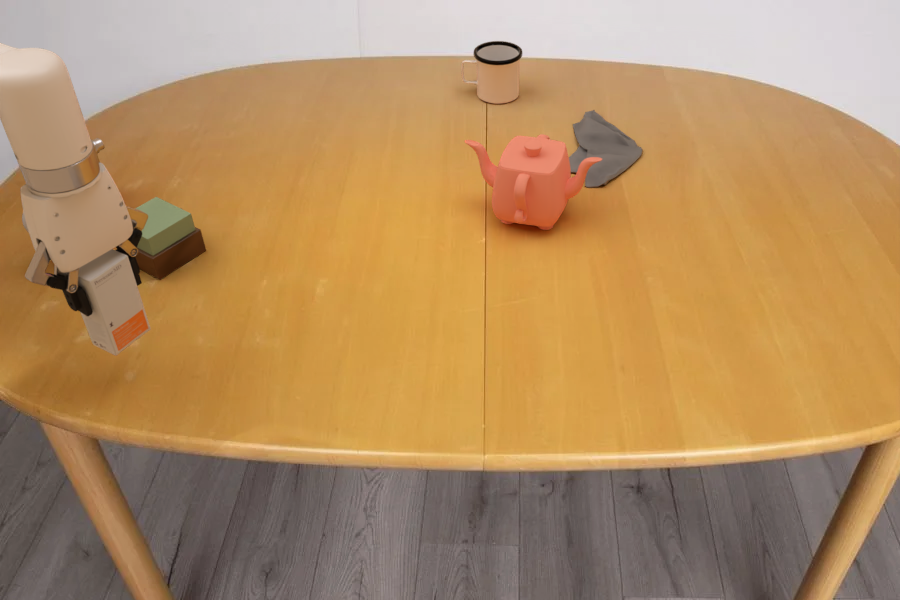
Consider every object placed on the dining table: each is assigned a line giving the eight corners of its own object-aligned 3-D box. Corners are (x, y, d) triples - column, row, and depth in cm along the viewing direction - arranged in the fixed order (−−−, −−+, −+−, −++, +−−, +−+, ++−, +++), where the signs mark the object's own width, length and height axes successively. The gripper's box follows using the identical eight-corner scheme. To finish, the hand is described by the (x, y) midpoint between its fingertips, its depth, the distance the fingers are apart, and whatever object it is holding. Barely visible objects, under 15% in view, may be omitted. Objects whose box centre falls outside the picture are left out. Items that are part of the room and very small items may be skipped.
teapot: (597, 223, 141) (603, 154, 132) (505, 250, 135) (506, 180, 127) (552, 178, 151) (555, 111, 142) (465, 201, 145) (463, 134, 137)
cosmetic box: (117, 357, 108) (88, 282, 100) (92, 345, 109) (62, 270, 101) (153, 329, 112) (128, 254, 104) (129, 318, 113) (102, 243, 105)
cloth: (634, 193, 147) (636, 181, 146) (554, 183, 149) (554, 172, 148) (648, 119, 166) (649, 108, 165) (576, 112, 168) (577, 101, 167)
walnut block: (159, 280, 130) (152, 258, 127) (121, 259, 134) (113, 238, 131) (206, 250, 135) (200, 229, 133) (168, 231, 139) (161, 210, 137)
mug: (525, 85, 176) (525, 42, 170) (518, 107, 170) (518, 63, 164) (466, 81, 178) (465, 38, 172) (457, 103, 171) (455, 59, 165)
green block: (153, 255, 128) (147, 239, 126) (118, 237, 131) (112, 221, 129) (195, 229, 133) (191, 213, 131) (161, 212, 136) (156, 196, 134)
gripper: (106, 124, 101) (146, 249, 113) (-36, 191, 90) (24, 321, 102) (149, 144, 98) (185, 271, 110) (7, 216, 87) (64, 347, 99)
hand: (107, 294), depth 106 cm, fingers closed on cosmetic box, 6 cm apart
